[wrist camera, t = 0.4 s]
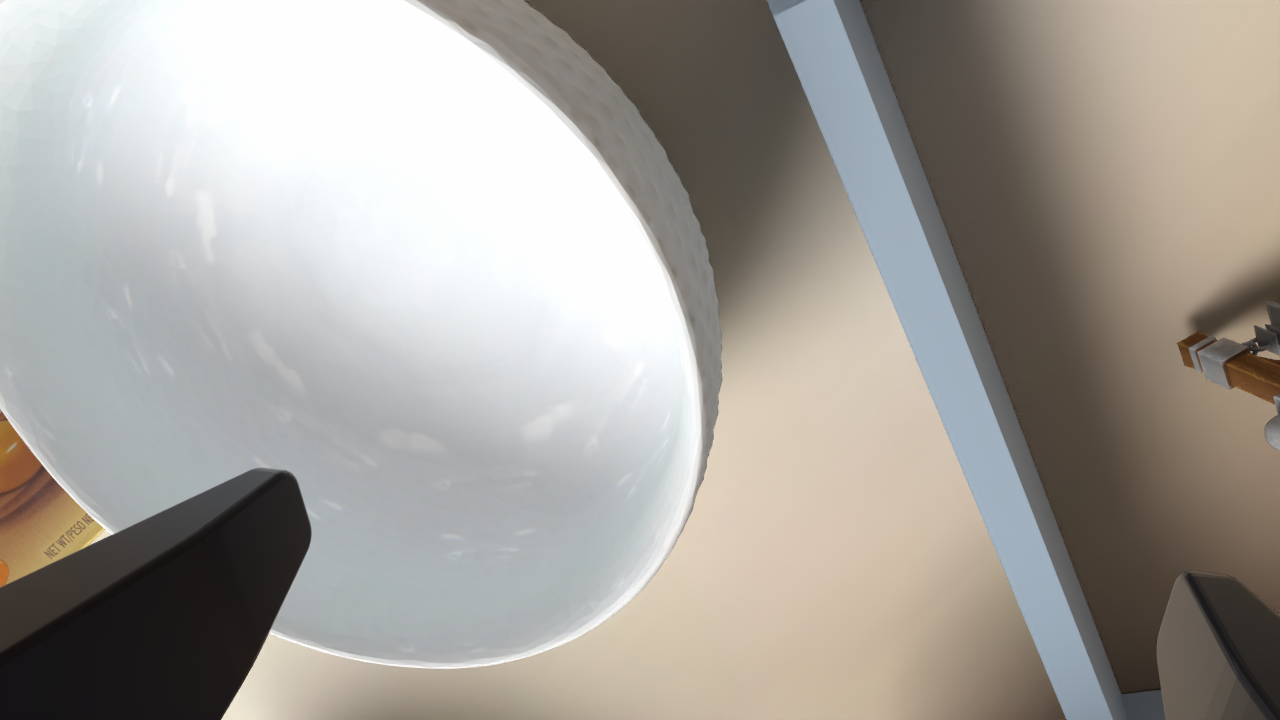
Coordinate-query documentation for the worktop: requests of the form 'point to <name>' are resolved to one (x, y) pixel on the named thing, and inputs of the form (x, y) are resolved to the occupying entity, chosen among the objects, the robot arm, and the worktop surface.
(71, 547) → the candy box
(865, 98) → the open box
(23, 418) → the cereal bowl
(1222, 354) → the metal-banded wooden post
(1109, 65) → the worktop surface
